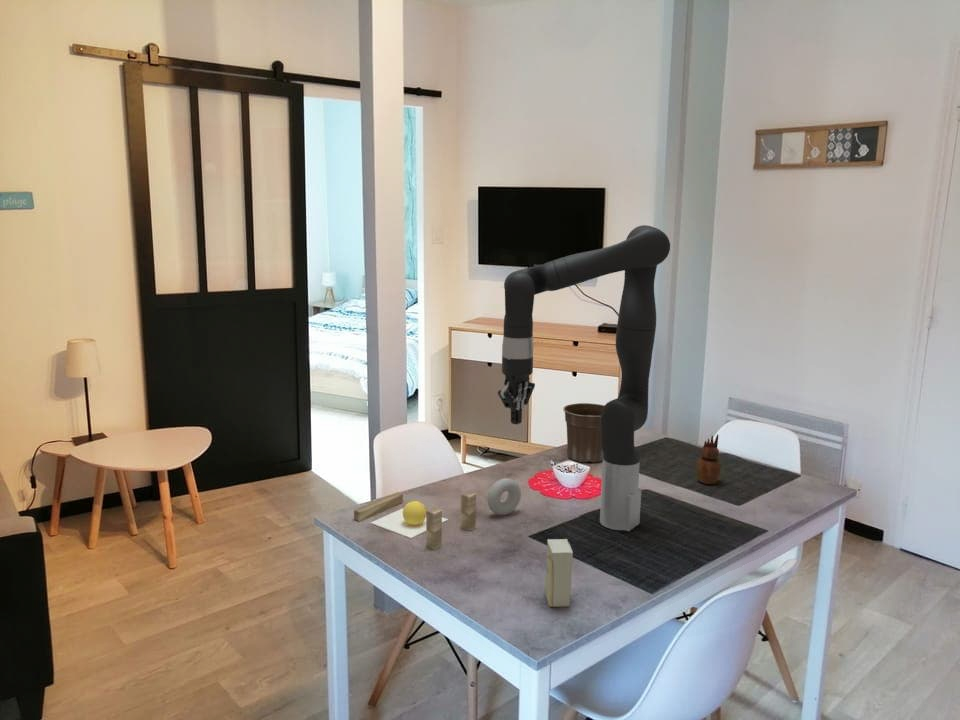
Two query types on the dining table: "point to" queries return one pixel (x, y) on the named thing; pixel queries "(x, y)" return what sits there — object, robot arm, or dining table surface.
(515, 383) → the robot arm
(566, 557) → the skincare box
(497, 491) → the donut
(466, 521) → the post right
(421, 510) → the ball
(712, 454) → the wooden figurine
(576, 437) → the plant pot
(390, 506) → the wall
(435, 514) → the post left
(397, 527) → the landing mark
